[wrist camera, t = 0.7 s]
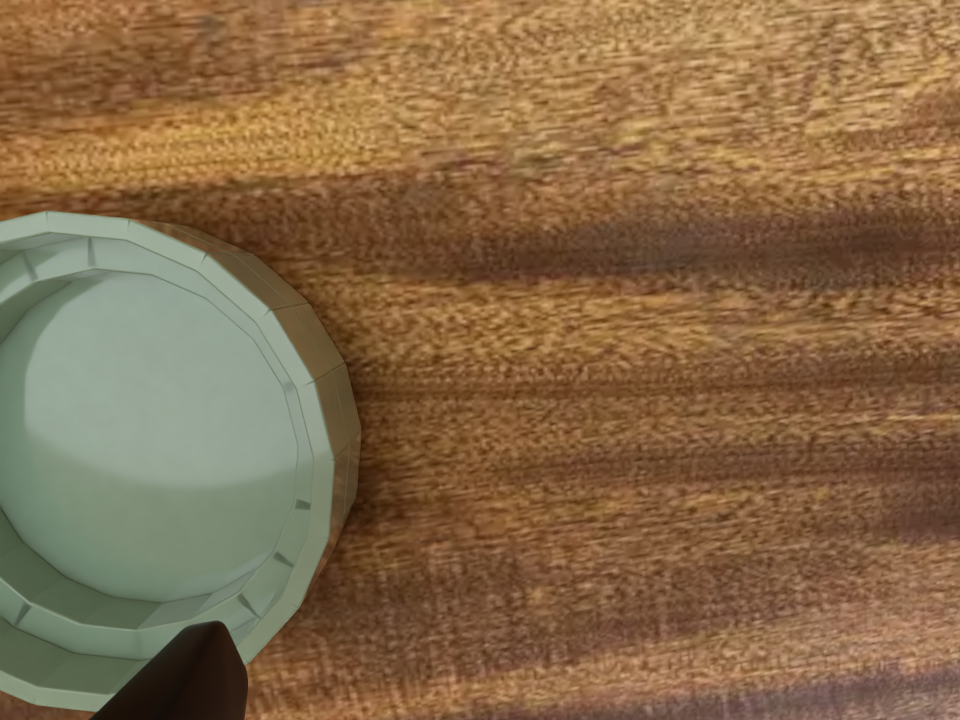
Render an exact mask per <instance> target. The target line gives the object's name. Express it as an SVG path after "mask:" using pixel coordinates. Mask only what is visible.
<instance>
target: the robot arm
mask: <svg viewBox="0 0 960 720" xmlns="http://www.w3.org/2000/svg"><path fill="white" fill-rule="evenodd" d="M247 693H248V677H247V672H246V668H245V666H244V663H243V661H242V659H241V657H240V655H239V652H238V650H237V648H236V646H235V644H234V641H233V639H232V637H231V635H230V633H229V630H228V629H227V627H226V625H225V624H224V623H223V622H221V621H217V620H214V621H208V622H203V623H197V624H192V625H189V626H187V627H185V628H184V629H182V630H181V631H180V632H179V633H178V634H177V635H176V636H175V637H174V638H173V639H172V640H171V641H170V642H169V643H168V644H167V645H166V646H165V647H164V648H163V649H162V650H161V651H159V652H158V653H157V654H156V655H155V656H154V657H153V658H152V659H151V660H150V661H149V662H148V663H147V664H146V665H145V666H144V667H143V668H142V669H141V670H140V671H139V672H138V673H137V674H136V675H135V676H134V677H133V678H132V679H131V680H130V681H128V682H127V683H126V684H125V685H124V686H123V687H122V688H121V689H120V690H119V691H118V692H117V693H116V694H115V695H114V696H113V697H112V698H111V699H110V700H109V701H108V702H107V703H106V704H105V705H104V706H103V707H102V708H101V709H100V710H99V711H98V712H96V713H95V714H94V715H93V716H92V717H91V718H90V719H89V720H244V717H245V709H246V701H247Z"/></svg>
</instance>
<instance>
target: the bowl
mask: <svg viewBox="0 0 960 720" xmlns="http://www.w3.org/2000/svg"><path fill="white" fill-rule="evenodd" d="M361 433H362V431H361V425H360V421H359V416H358V412H357V408H356V404H355V400H354V396H353V392H352V387H351V383H350V379H349V375H348V371H347V367H346V364H345V363H344V360H343V358H342V356H341V355H340V353H339V351H338V350H337V348H336V347H335V345H334V343H333V342H332V340H331V338H330V337H329V335H328V333H327V332H326V330H325V328H324V327H323V325H322V323H321V322H320V320H319V318H318V317H317V315H316V314H315V312H314V310H313V309H312V307H311V305H310V304H309V303H308V301H307V300H306V299H305V298H304V297H302V296H301V295H300V294H299V293H298V292H297V291H296V290H294V289H293V288H292V287H291V286H290V285H289V284H288V283H286V282H285V281H284V280H283V279H282V278H281V277H280V276H279V275H277V274H276V273H275V272H274V271H273V270H272V269H271V268H269V267H268V266H267V265H266V264H265V263H264V262H263V261H261V260H260V259H259V258H258V257H257V256H255V255H253V254H252V253H250V252H247V251H245V250H243V249H241V248H238V247H236V246H234V245H231V244H229V243H227V242H225V241H222V240H220V239H218V238H216V237H213V236H211V235H209V234H206V233H204V232H202V231H200V230H197V229H195V228H193V227H189V226H186V225H178V224H170V223H162V222H154V221H146V220H138V219H130V218H121V217H110V216H100V215H90V214H80V213H70V212H60V211H50V210H49V211H42V212H37V213H33V214H29V215H25V216H20V217H16V218H12V219H7V220H3V221H0V690H1V691H3V692H5V693H8V694H10V695H12V696H15V697H17V698H19V699H22V700H24V701H26V702H29V703H31V704H35V705H41V706H49V707H58V708H67V709H75V710H84V711H93V712H98V711H99V710H100V709H101V708H102V707H103V706H104V705H105V704H106V703H107V702H108V701H109V700H110V699H111V698H112V697H113V696H114V695H115V694H116V693H117V692H118V691H119V690H120V689H121V688H122V687H123V686H124V685H125V684H126V683H127V682H128V681H130V680H131V679H132V678H133V677H134V676H135V675H136V674H137V673H138V672H139V671H140V670H141V669H142V668H143V667H144V666H145V665H146V664H147V663H148V662H149V661H150V660H151V659H152V658H153V657H154V656H155V655H156V654H157V653H158V652H159V651H161V650H162V649H163V648H164V647H165V646H166V645H167V644H168V643H169V642H170V641H171V640H172V639H173V638H174V637H175V636H176V635H177V634H178V633H179V632H180V631H181V630H182V629H184V628H185V627H187V626H189V625H192V624H197V623H203V622H208V621H214V620H217V621H221V622H223V623H224V624H225V625H226V627H227V629H228V630H229V633H230V635H231V637H232V639H233V641H234V644H235V646H236V648H237V650H238V652H239V655H240V657H241V659H242V661H243V663H244V666H246V665H248V663H249V662H251V661H252V660H253V659H254V658H255V657H256V656H257V654H258V653H259V652H260V651H261V650H262V649H263V648H264V647H265V646H266V645H267V643H268V642H269V641H270V640H271V639H272V638H273V637H274V636H275V635H276V634H277V632H278V631H279V630H280V629H281V628H282V627H283V626H284V625H285V624H286V623H287V621H288V620H289V619H290V618H291V617H292V616H293V615H294V614H295V613H296V612H297V610H298V609H299V607H300V606H301V605H302V603H303V601H304V600H305V598H306V596H307V595H308V593H309V591H310V590H311V588H312V586H313V585H314V583H315V581H316V580H317V578H318V576H319V575H320V573H321V571H322V570H323V568H324V566H325V565H326V563H327V561H328V560H329V558H330V556H331V555H332V552H333V550H334V548H335V545H336V543H337V541H338V538H339V536H340V534H341V531H342V529H343V527H344V524H345V522H346V520H347V517H348V515H349V513H350V510H351V508H352V506H353V503H354V501H355V497H356V495H357V483H358V471H359V458H360V446H361Z"/></svg>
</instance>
